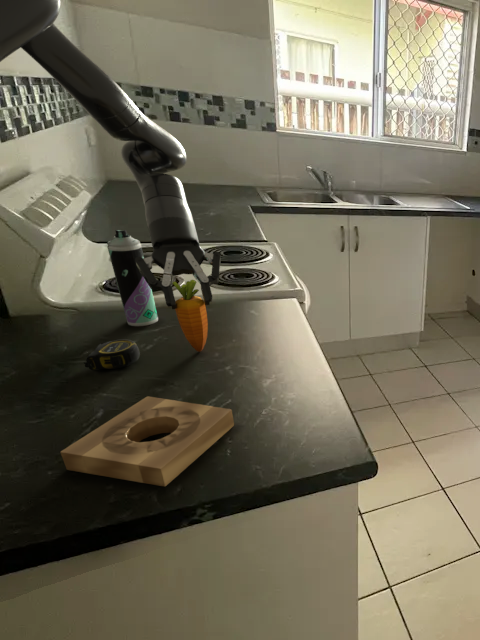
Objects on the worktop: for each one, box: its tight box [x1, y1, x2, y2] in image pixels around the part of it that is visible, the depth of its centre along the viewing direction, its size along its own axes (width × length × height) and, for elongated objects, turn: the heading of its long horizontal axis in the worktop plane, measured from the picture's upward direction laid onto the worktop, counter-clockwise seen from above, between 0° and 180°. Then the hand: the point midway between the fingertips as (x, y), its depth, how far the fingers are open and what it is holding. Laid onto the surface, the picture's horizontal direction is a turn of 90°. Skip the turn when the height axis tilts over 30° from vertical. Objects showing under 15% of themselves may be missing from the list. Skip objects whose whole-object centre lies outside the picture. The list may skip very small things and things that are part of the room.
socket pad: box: [60, 395, 235, 487], centre depth 68 cm, size 14×14×3 cm
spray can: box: [106, 229, 159, 327], centre depth 99 cm, size 6×6×20 cm
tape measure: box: [83, 339, 141, 371], centre depth 86 cm, size 7×7×4 cm
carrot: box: [172, 279, 209, 353], centre depth 91 cm, size 5×5×15 cm
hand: (191, 305), depth 88 cm, fingers closed on carrot, 4 cm apart
